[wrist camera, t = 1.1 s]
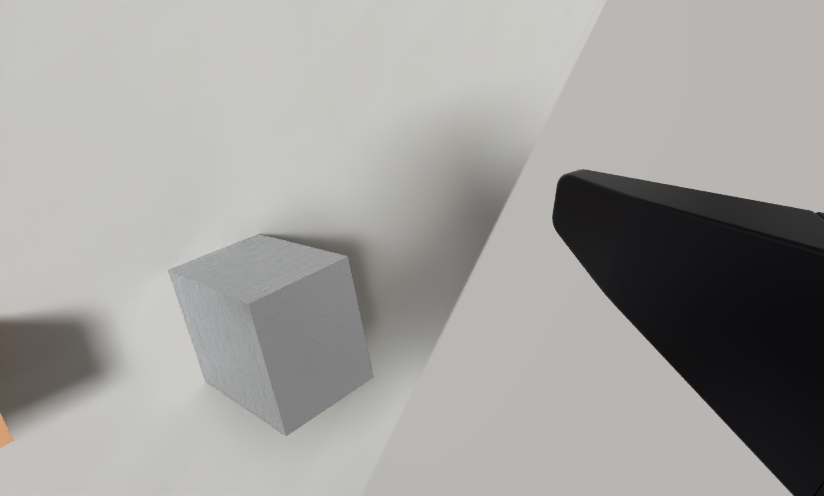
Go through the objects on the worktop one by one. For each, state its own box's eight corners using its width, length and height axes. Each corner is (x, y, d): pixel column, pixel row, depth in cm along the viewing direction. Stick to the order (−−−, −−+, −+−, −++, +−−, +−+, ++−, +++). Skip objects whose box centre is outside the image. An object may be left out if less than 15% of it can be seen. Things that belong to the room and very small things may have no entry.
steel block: (286, 336, 26) (373, 377, 22) (205, 381, 24) (286, 436, 19) (258, 233, 24) (348, 256, 20) (167, 269, 22) (248, 303, 18)
